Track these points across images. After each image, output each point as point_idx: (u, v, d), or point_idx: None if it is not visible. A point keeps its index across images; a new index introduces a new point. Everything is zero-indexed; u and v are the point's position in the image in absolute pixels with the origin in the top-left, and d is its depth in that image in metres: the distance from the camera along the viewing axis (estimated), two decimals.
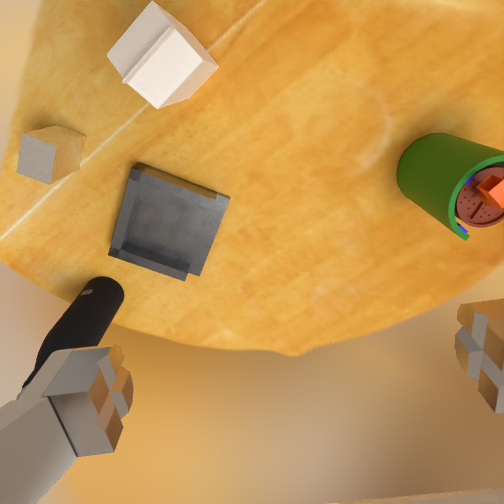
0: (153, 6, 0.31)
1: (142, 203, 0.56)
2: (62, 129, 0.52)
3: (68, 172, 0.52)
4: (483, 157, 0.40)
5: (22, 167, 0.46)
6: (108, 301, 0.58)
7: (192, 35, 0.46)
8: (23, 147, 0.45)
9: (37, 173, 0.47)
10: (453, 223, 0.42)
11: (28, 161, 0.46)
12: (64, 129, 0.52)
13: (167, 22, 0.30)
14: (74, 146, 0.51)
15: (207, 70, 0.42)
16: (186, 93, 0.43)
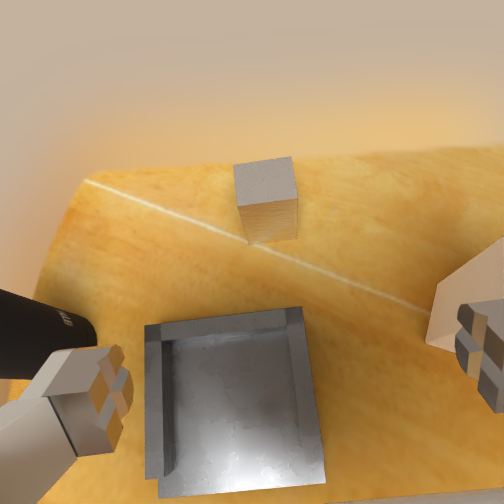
0: None
1: (245, 343, 0.35)
2: None
3: (248, 230, 0.36)
4: None
5: (244, 169, 0.32)
6: None
7: None
8: (272, 162, 0.32)
9: (245, 187, 0.32)
10: None
11: (256, 173, 0.32)
12: None
13: None
14: (287, 226, 0.36)
15: None
16: None
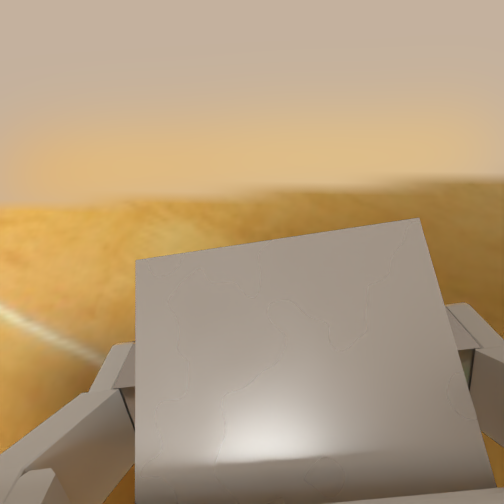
0: None
1: None
2: None
3: None
4: None
5: (185, 283, 0.07)
6: None
7: None
8: (325, 252, 0.06)
9: (186, 394, 0.06)
10: None
11: (246, 309, 0.06)
12: None
13: None
14: None
15: None
16: None
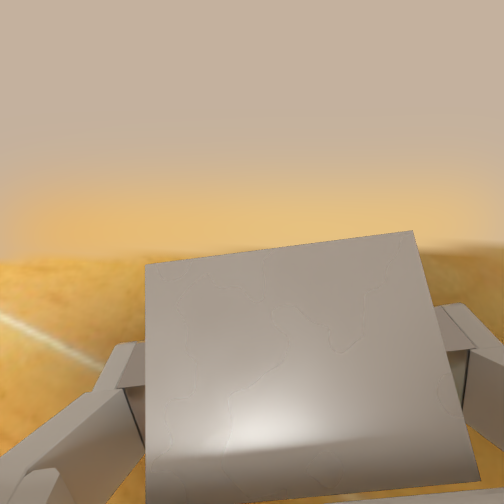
0: None
1: None
2: None
3: None
4: None
5: (193, 287, 0.07)
6: None
7: None
8: (326, 260, 0.07)
9: (194, 392, 0.06)
10: None
11: (252, 313, 0.07)
12: None
13: None
14: None
15: None
16: None
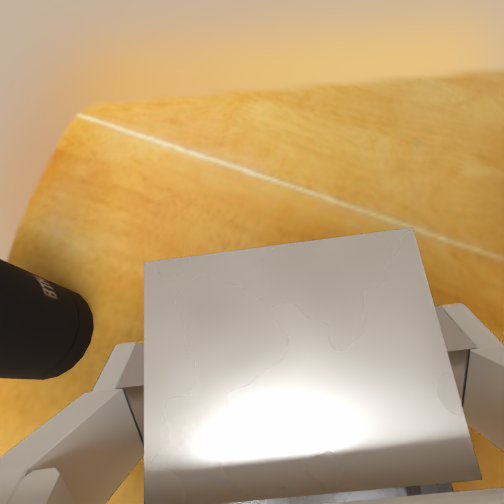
0: None
1: None
2: None
3: None
4: None
5: (192, 285, 0.07)
6: (34, 345, 0.21)
7: None
8: (326, 257, 0.07)
9: (193, 390, 0.06)
10: None
11: (250, 310, 0.07)
12: None
13: None
14: None
15: None
16: None
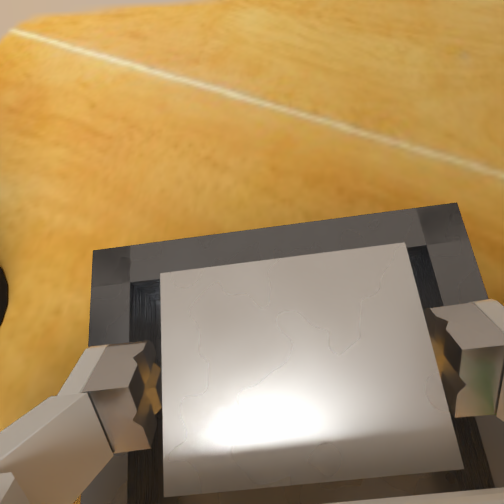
0: None
1: None
2: None
3: None
4: None
5: (204, 294, 0.08)
6: None
7: None
8: (326, 269, 0.08)
9: (207, 390, 0.07)
10: None
11: (258, 317, 0.07)
12: None
13: None
14: None
15: None
16: None
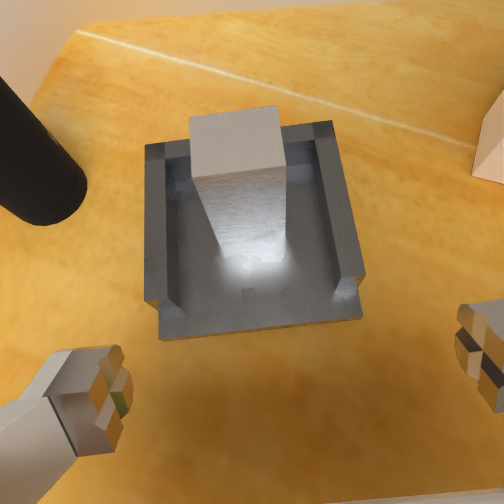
0: None
1: None
2: None
3: (214, 220, 0.25)
4: None
5: (205, 123, 0.21)
6: (40, 169, 0.26)
7: None
8: (248, 114, 0.21)
9: (205, 150, 0.21)
10: None
11: (223, 129, 0.21)
12: None
13: None
14: (271, 214, 0.25)
15: None
16: None
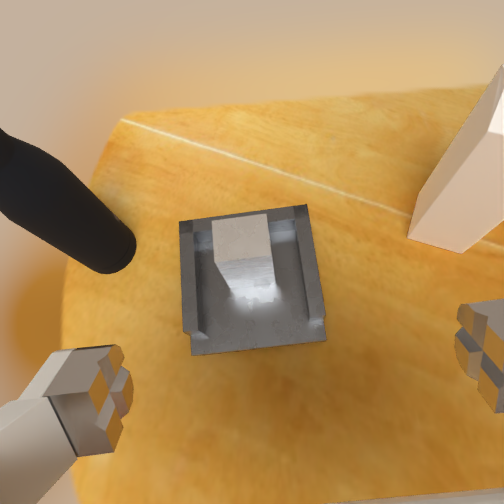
0: None
1: None
2: None
3: (227, 278, 0.38)
4: None
5: (221, 225, 0.34)
6: (111, 243, 0.40)
7: None
8: (248, 219, 0.34)
9: (222, 243, 0.34)
10: None
11: (233, 229, 0.34)
12: None
13: None
14: (264, 274, 0.38)
15: (495, 215, 0.33)
16: (449, 208, 0.34)
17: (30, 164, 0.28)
